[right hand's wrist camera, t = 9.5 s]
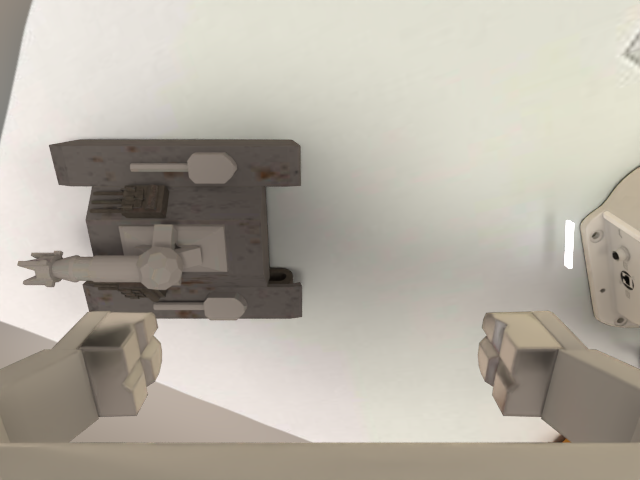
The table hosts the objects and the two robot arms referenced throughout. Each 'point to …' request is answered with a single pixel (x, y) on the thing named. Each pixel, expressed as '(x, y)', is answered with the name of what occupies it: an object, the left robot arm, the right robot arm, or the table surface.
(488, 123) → the table surface
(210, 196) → the toy
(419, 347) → the table surface
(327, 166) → the table surface
